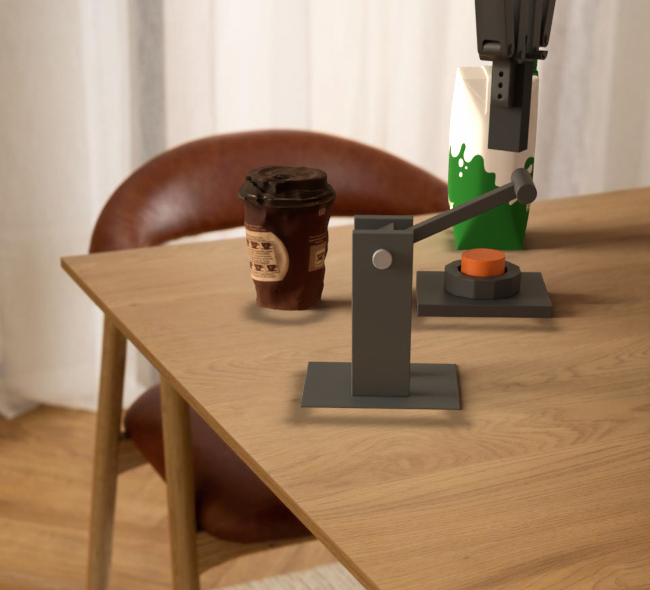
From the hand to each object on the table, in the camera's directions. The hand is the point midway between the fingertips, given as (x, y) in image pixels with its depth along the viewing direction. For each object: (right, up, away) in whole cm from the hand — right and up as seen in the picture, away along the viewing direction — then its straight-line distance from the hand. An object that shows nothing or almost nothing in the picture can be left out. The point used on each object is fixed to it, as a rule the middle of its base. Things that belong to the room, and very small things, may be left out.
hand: (507, 148), depth 92 cm
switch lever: (-5, -8, -6) cm, 11 cm away
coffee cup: (-18, -10, +19) cm, 28 cm away
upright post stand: (-10, -19, 0) cm, 22 cm away
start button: (0, -7, +17) cm, 18 cm away
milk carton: (+4, +1, +39) cm, 39 cm away
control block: (0, -10, +19) cm, 21 cm away
